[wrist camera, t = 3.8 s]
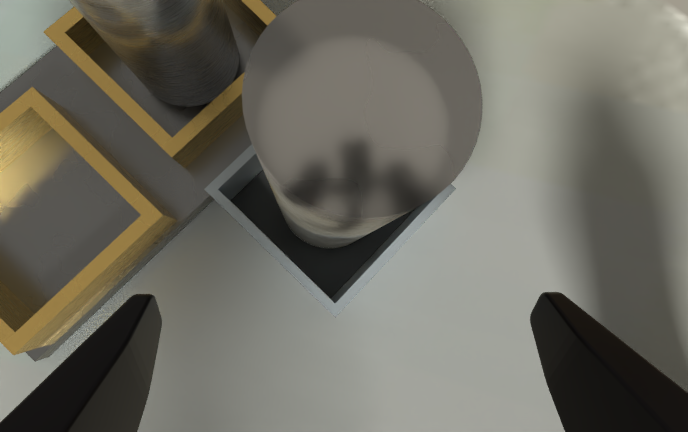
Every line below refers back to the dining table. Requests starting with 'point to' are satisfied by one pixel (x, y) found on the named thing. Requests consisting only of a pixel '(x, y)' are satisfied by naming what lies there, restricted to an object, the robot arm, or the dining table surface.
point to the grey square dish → (229, 187)
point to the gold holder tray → (100, 176)
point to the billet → (359, 113)
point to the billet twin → (169, 44)
